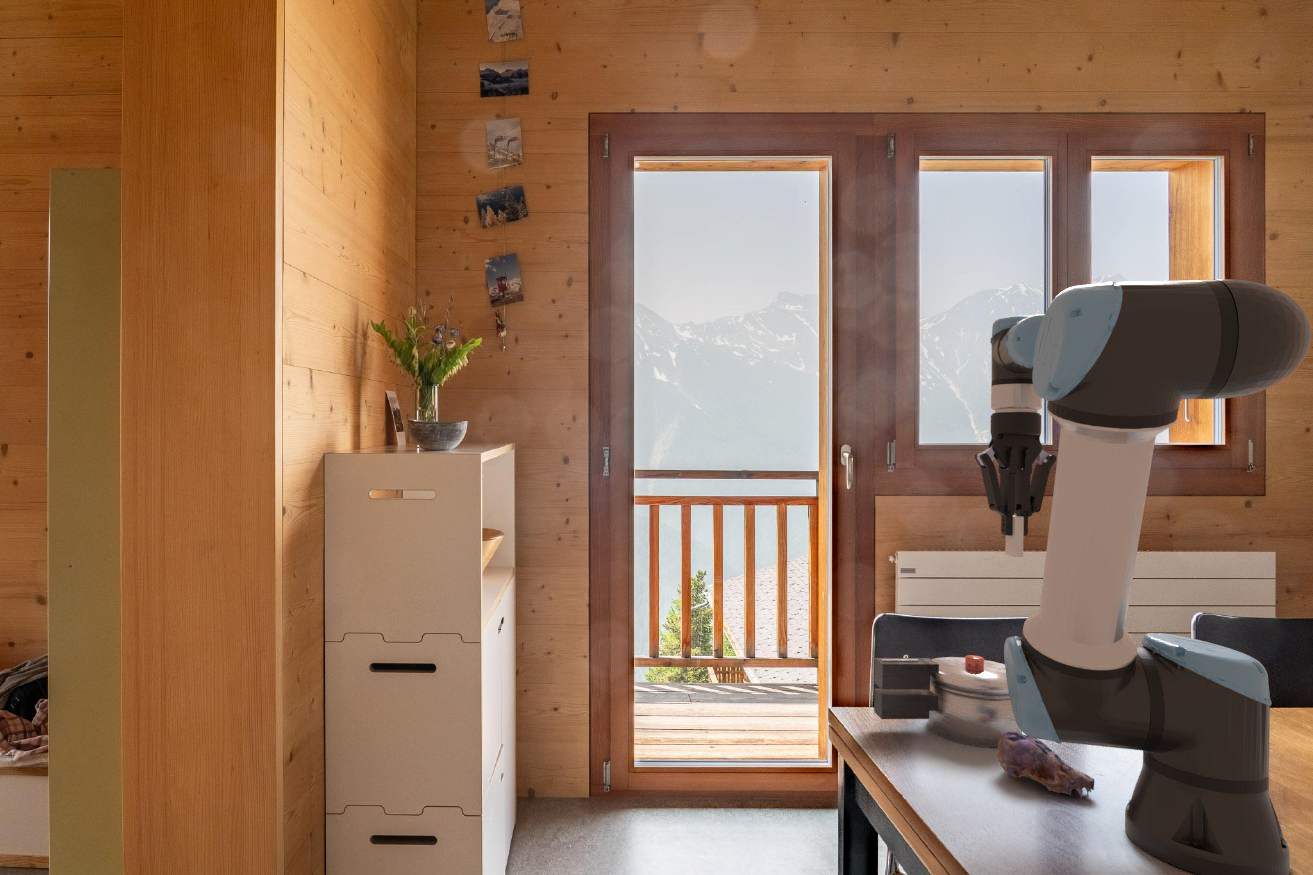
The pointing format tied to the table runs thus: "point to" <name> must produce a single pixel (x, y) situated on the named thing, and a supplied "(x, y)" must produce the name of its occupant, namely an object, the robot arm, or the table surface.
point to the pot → (951, 712)
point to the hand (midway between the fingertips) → (1014, 555)
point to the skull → (1039, 764)
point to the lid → (941, 674)
